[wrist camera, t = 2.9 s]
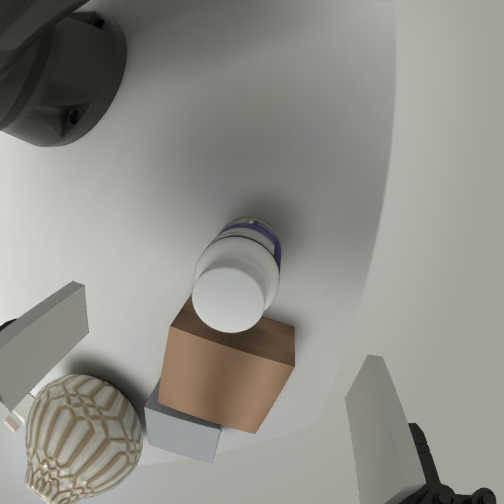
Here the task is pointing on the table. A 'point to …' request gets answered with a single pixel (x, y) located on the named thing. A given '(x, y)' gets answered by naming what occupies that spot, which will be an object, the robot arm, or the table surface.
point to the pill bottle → (237, 276)
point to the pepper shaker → (19, 414)
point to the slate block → (180, 430)
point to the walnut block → (225, 369)
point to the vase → (80, 439)
